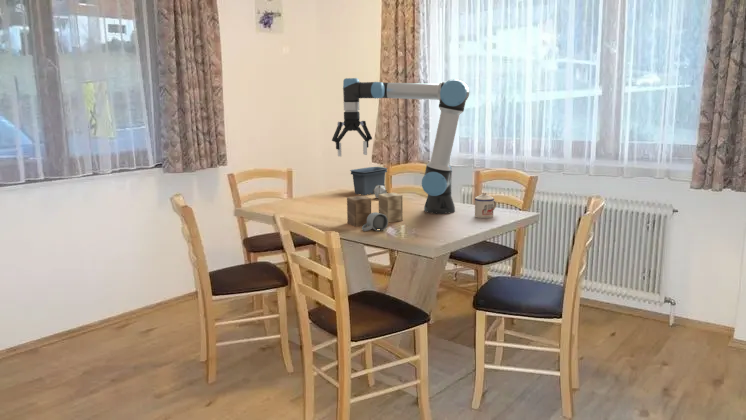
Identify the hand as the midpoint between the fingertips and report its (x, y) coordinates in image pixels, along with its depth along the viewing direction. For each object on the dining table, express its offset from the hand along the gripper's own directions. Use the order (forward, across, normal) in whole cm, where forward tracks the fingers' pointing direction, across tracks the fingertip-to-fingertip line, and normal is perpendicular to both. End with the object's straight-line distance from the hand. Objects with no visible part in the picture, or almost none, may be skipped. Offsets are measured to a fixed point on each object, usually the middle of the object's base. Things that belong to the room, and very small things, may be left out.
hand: (352, 155), depth 294 cm
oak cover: (+29, -8, +23) cm, 38 cm away
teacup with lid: (+29, -52, +38) cm, 71 cm away
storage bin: (+29, -33, -51) cm, 67 cm away
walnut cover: (+29, +8, +23) cm, 37 cm away
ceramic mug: (+29, +7, +37) cm, 48 cm away
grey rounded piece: (+29, -30, -30) cm, 51 cm away
